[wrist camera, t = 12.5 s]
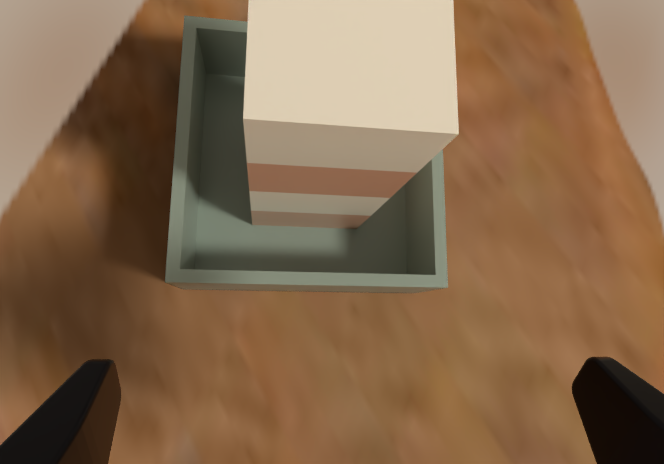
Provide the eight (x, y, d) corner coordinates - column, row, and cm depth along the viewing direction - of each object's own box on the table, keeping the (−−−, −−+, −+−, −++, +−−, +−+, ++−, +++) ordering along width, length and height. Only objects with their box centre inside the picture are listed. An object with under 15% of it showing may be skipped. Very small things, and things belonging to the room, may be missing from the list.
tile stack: (356, 229, 23) (458, 134, 11) (252, 224, 22) (243, 118, 10) (356, 131, 24) (451, -51, 12) (256, 124, 23) (252, -77, 11)
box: (414, 293, 23) (447, 287, 19) (183, 289, 21) (164, 282, 17) (409, 86, 25) (438, 40, 21) (197, 69, 23) (184, 15, 19)
